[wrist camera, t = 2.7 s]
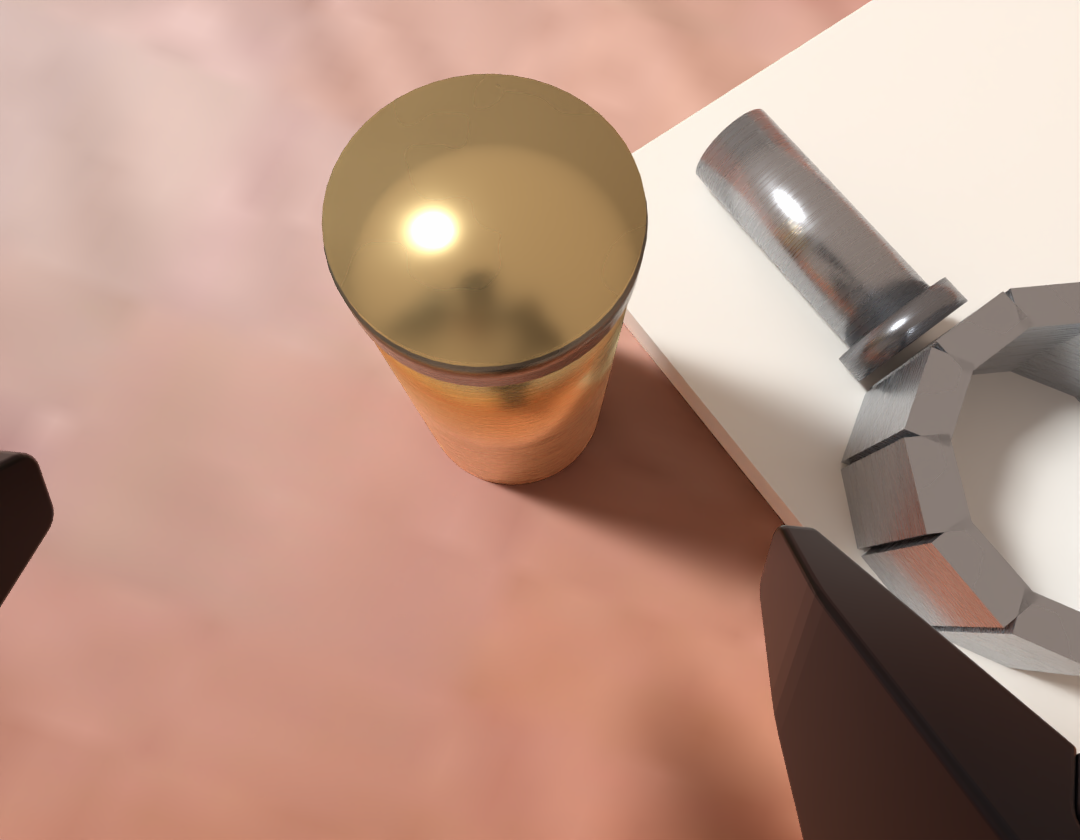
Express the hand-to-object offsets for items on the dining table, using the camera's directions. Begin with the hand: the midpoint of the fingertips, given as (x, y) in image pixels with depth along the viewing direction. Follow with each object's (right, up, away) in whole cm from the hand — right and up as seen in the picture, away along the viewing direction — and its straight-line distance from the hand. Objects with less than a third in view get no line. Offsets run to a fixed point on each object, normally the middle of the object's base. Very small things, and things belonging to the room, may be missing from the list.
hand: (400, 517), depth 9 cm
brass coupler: (+1, +2, +12) cm, 12 cm away
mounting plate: (+15, +5, +13) cm, 20 cm away
